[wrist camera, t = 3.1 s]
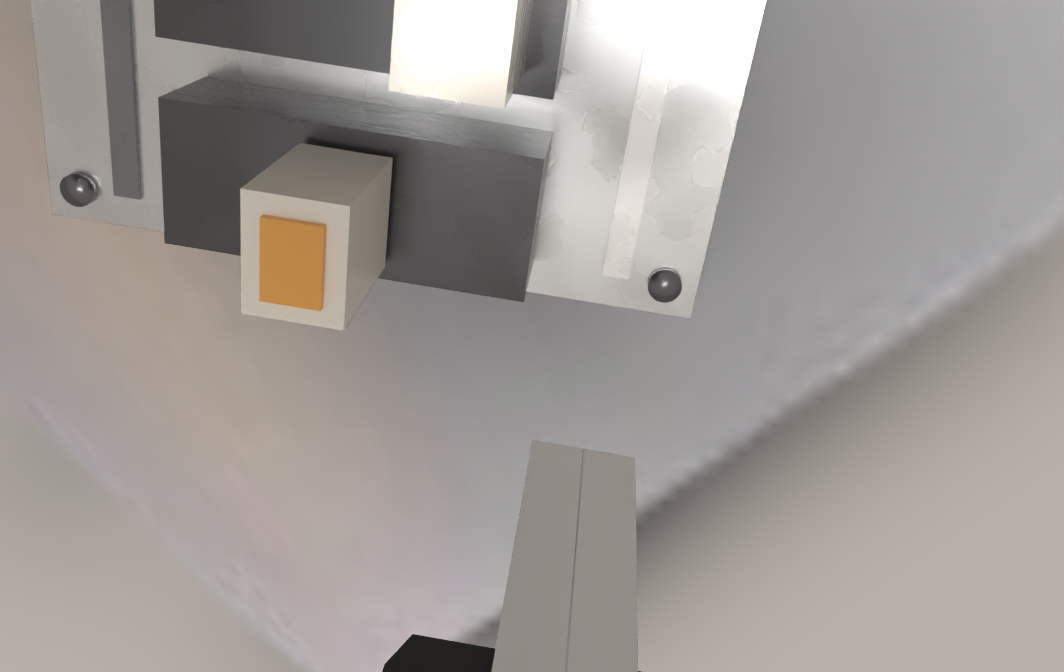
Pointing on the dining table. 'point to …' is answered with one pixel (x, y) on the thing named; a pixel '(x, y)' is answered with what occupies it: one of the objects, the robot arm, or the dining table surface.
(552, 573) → the robot arm
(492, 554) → the dining table surface
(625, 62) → the panel
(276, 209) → the block with orange pad
